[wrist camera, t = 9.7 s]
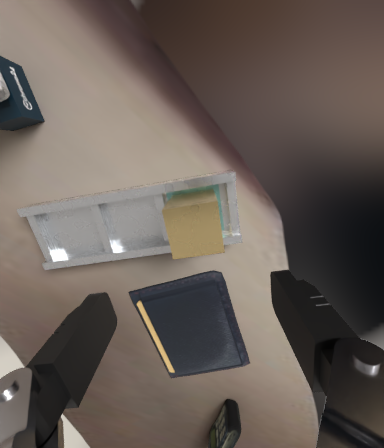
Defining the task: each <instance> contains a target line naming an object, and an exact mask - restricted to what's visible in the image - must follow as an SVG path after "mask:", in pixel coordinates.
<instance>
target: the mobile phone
mask: <svg viewBox="0 0 384 448" xmlns="http://www.w3.org/2000/svg"><path fill="white" fill-rule="evenodd" d="M240 434H241V422H240V415H239V408H238V404H237V403H236V402H235V401H233V400H230V399H227V400H226V402H225V404H224V406H223V408H222V410H221V412H220V415H219V417H218V418H217V420H216V421H215V423H214V424H213V426H212V428H211V431H210V435H209V446H208V448H234V446H235V445H236V443H237V441H238V439H239V437H240Z"/></svg>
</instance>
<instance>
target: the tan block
mask: <svg viewBox="0 0 384 448" xmlns="http://www.w3.org/2000/svg"><path fill="white" fill-rule="evenodd" d="M162 214H163V218H164V222H165V227H166V231H167V235H168V240H169V244H170V248H171V252H172V257H173V259H180V258H188V257H195V256H202V255H210V254H217V253H224V252H225V251H224V243H223V236H222V229H221V222H220V214H219V207H218V201H217V198H216V195H215V192H214V190H213V189H208V190H202V191H196V192H190V193H184V194H178V195H172V197H171V198H170V199H169V201H168V202H167V204H166V205H165V206H164V208H163V209H162Z"/></svg>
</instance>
